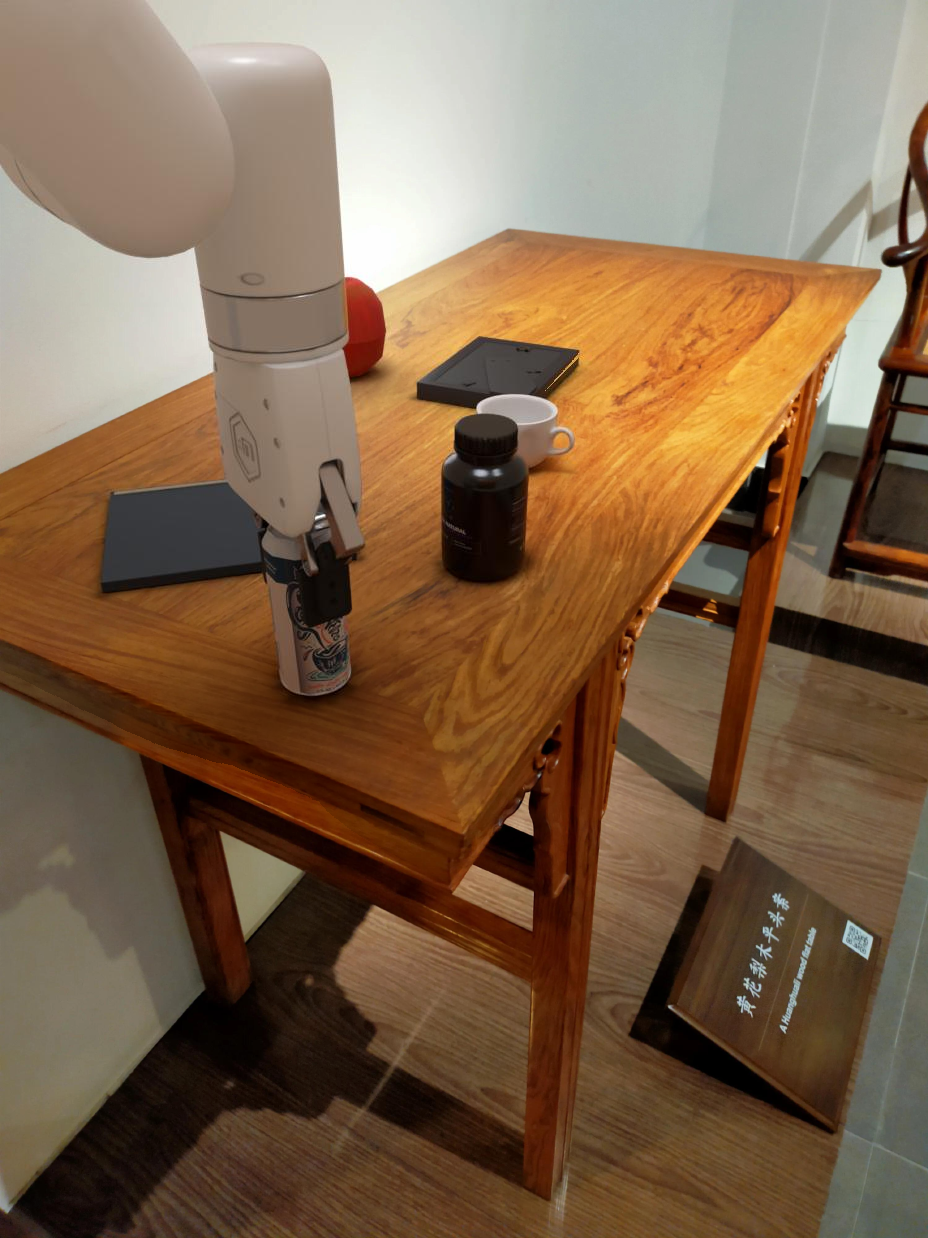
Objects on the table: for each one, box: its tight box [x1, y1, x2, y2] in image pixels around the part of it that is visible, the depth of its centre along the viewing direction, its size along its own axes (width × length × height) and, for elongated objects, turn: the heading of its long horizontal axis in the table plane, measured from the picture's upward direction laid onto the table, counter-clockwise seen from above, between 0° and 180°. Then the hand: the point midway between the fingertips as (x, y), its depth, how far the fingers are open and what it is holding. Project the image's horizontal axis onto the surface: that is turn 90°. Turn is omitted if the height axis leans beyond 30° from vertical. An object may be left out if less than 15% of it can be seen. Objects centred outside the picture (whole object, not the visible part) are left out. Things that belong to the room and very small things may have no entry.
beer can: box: [262, 512, 352, 697], centre depth 61 cm, size 5×5×12 cm
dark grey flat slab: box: [100, 478, 358, 594], centre depth 81 cm, size 20×16×1 cm
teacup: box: [475, 394, 576, 470], centre depth 91 cm, size 10×8×5 cm
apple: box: [342, 276, 387, 378], centre depth 110 cm, size 10×10×12 cm
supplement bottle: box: [440, 413, 530, 582], centre depth 74 cm, size 7×7×12 cm
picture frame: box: [416, 335, 580, 409], centre depth 110 cm, size 13×2×18 cm
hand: (307, 596), depth 60 cm, fingers closed on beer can, 4 cm apart
